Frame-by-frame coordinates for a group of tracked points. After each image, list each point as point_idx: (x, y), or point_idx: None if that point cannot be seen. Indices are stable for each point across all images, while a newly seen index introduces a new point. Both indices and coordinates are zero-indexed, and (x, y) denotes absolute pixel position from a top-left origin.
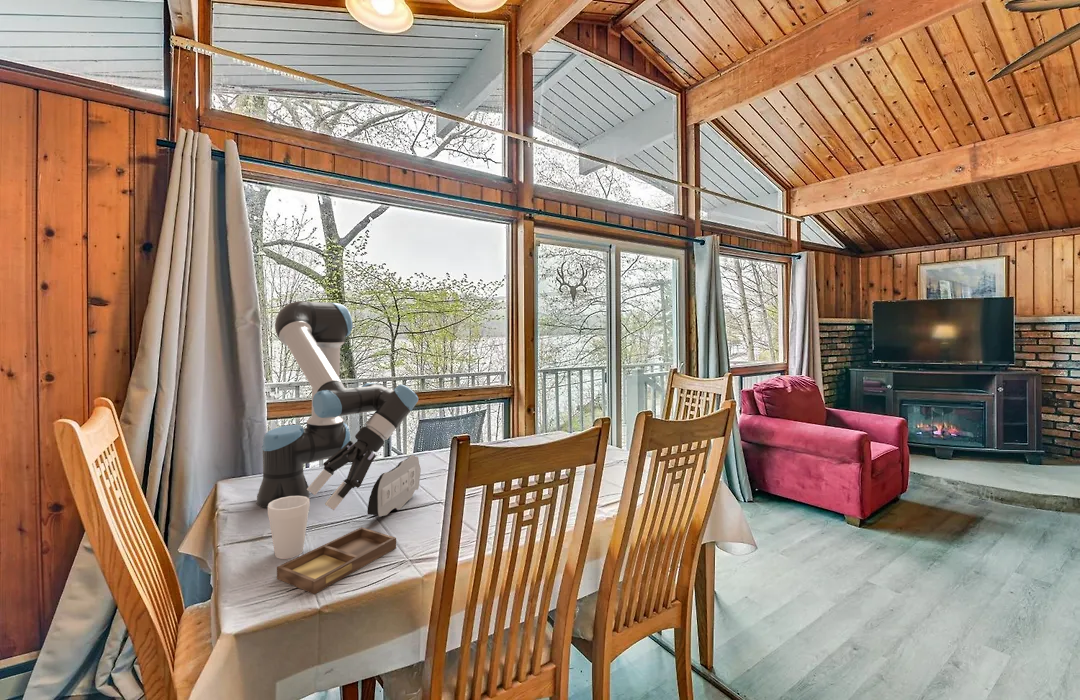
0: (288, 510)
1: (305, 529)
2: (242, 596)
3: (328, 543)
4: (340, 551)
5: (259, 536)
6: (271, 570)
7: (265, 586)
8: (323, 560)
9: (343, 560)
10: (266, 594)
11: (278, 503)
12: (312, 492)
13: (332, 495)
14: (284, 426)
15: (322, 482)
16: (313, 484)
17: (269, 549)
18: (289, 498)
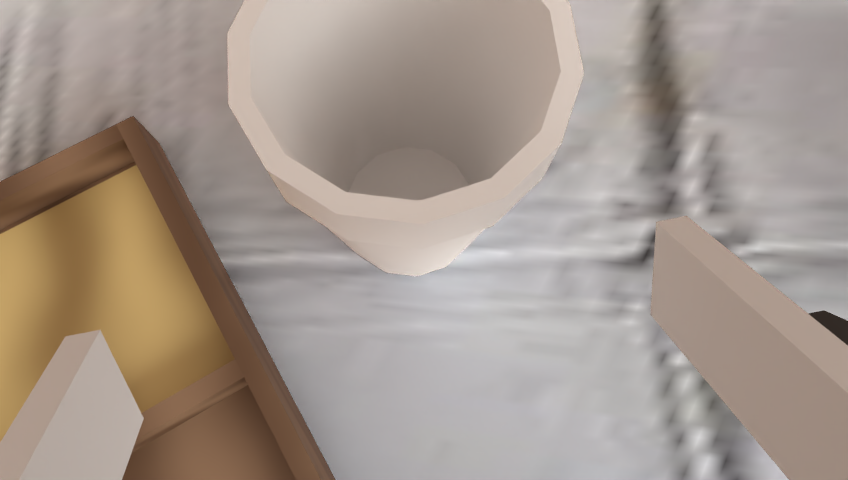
0: (232, 43)
1: (363, 251)
2: (93, 24)
3: (264, 391)
4: None
5: (688, 95)
6: None
7: (120, 99)
8: (162, 348)
9: None
10: (47, 100)
11: (520, 7)
12: (658, 282)
13: (37, 415)
14: None
15: (737, 385)
16: (698, 273)
17: None
18: (554, 74)
